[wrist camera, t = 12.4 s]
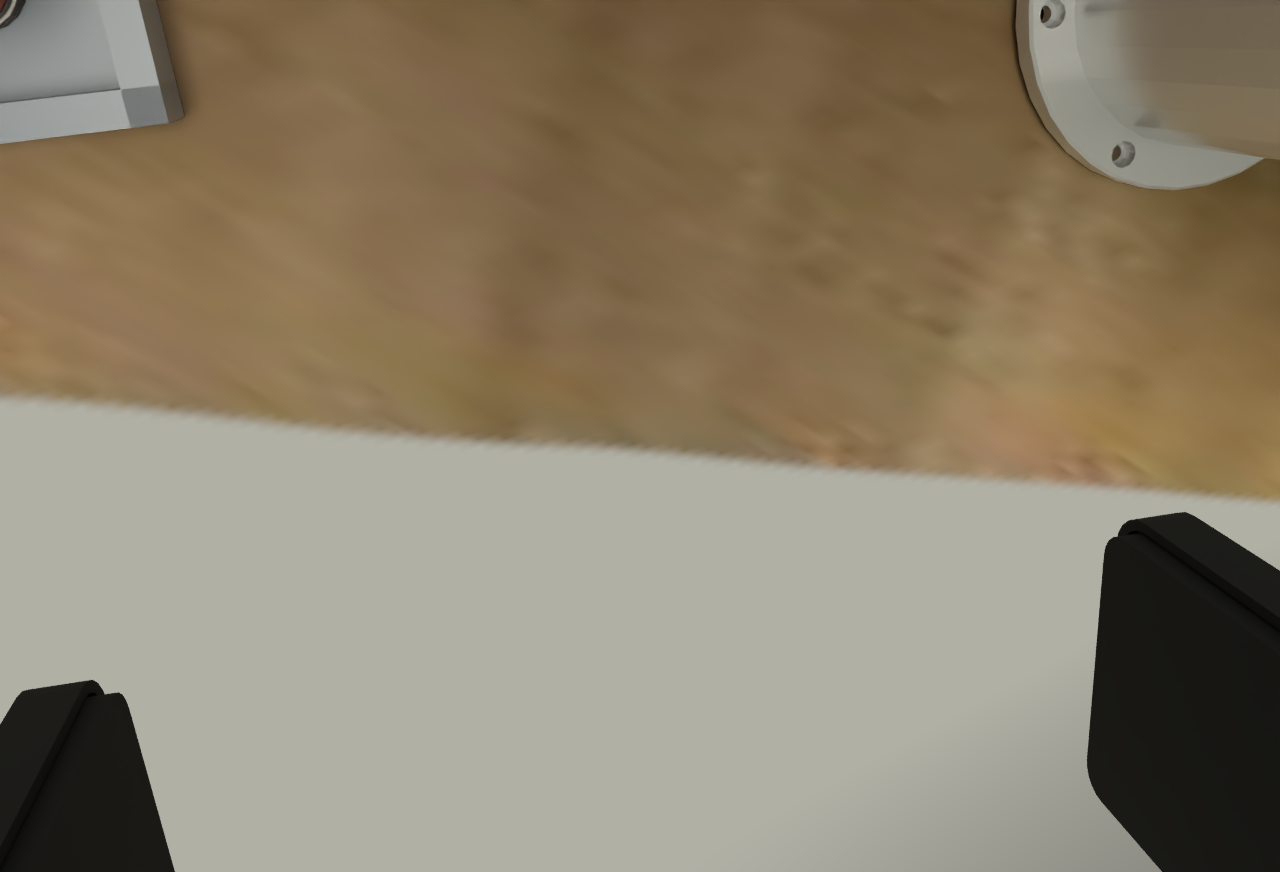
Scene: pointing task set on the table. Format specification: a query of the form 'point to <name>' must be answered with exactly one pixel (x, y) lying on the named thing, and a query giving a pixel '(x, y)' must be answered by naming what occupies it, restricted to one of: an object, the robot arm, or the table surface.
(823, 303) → the table surface
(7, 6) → the lighter
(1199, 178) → the robot arm
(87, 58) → the tray
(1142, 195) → the table surface
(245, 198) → the table surface
